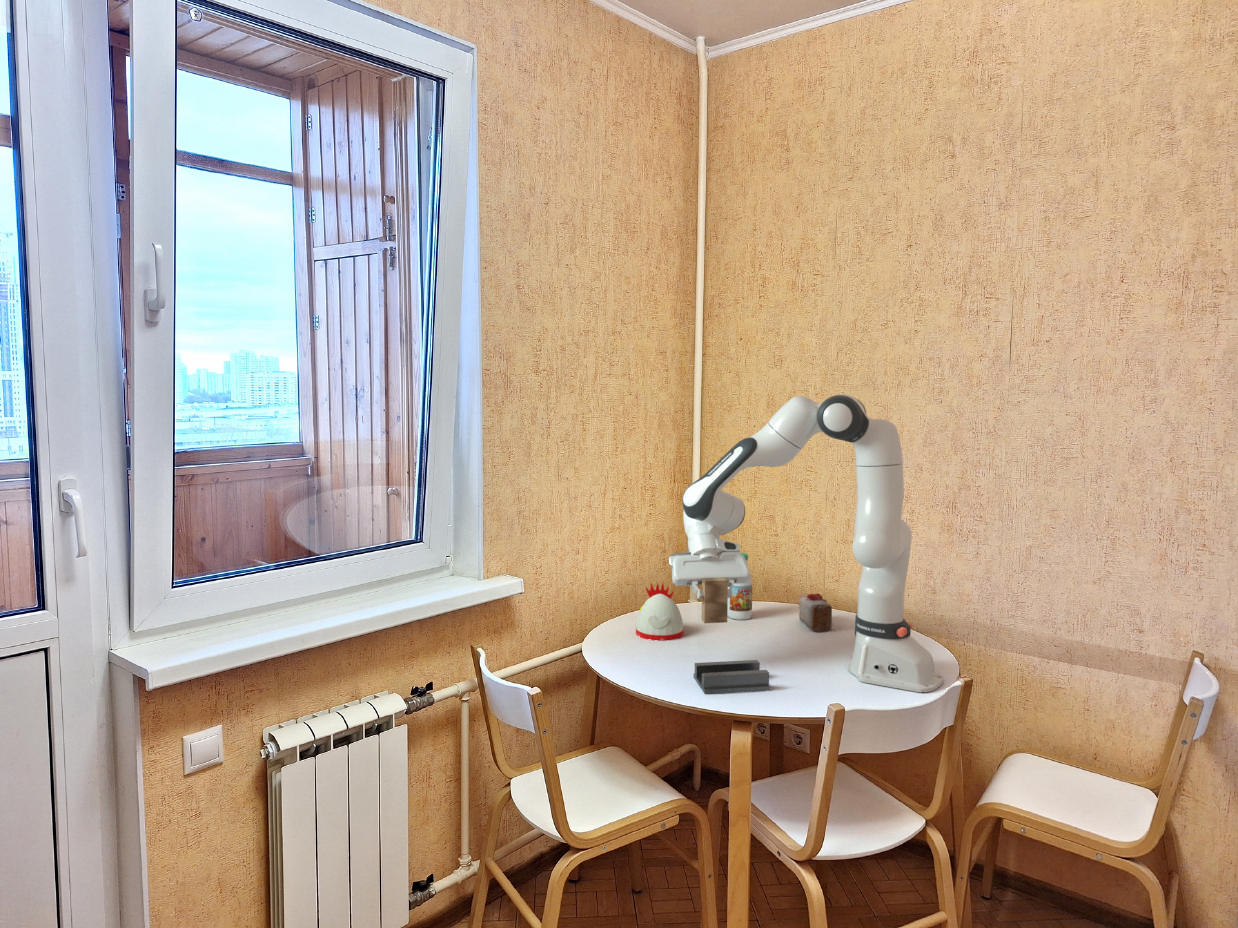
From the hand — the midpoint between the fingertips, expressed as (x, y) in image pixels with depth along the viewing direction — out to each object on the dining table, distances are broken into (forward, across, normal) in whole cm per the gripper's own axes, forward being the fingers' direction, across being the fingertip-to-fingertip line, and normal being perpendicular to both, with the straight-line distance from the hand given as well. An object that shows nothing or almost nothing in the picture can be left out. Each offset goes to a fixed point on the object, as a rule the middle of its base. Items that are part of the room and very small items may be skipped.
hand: (715, 597), depth 206 cm
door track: (+22, +1, +4) cm, 22 cm away
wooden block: (+4, 0, +5) cm, 6 cm away
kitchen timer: (-7, -9, +33) cm, 35 cm away
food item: (-8, +39, +34) cm, 52 cm away
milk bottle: (-16, +19, +42) cm, 49 cm away
